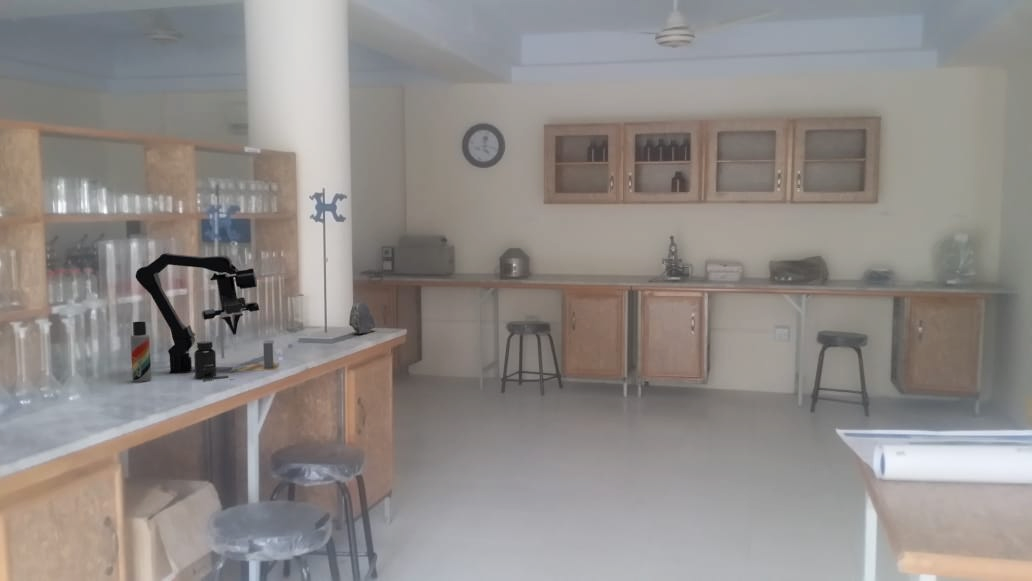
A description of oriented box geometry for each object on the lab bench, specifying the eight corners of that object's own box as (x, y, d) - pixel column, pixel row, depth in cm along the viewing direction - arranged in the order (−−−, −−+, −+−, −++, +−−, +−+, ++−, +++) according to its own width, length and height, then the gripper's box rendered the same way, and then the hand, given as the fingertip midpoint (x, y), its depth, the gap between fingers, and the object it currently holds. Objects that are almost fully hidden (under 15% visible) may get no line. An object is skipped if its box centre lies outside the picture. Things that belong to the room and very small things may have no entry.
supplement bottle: (209, 379, 275) (207, 344, 274) (190, 378, 277) (189, 343, 276) (220, 375, 282) (219, 340, 281) (202, 374, 283) (201, 340, 282)
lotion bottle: (131, 382, 271) (128, 322, 269) (134, 379, 276) (131, 320, 274) (149, 381, 272) (146, 321, 270) (152, 378, 278) (149, 319, 276)
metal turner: (205, 383, 270) (205, 380, 270) (201, 379, 275) (200, 376, 275) (250, 377, 278) (250, 375, 278) (246, 374, 283) (245, 372, 283)
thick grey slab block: (264, 368, 292) (263, 343, 291) (266, 364, 298) (265, 340, 297) (273, 368, 292) (272, 343, 291) (275, 364, 299) (274, 340, 298)
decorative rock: (358, 336, 366) (357, 302, 364) (346, 335, 369) (345, 302, 367) (378, 331, 381) (377, 298, 379) (366, 330, 384) (365, 298, 382)
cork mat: (229, 372, 287) (229, 371, 287) (233, 366, 298) (233, 364, 298) (276, 370, 290) (276, 369, 290) (279, 364, 302) (279, 363, 302)
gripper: (202, 297, 278) (210, 342, 280) (258, 288, 287) (265, 331, 289) (198, 295, 288) (205, 338, 290) (252, 286, 296) (259, 328, 298)
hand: (234, 334), depth 291 cm, fingers closed
